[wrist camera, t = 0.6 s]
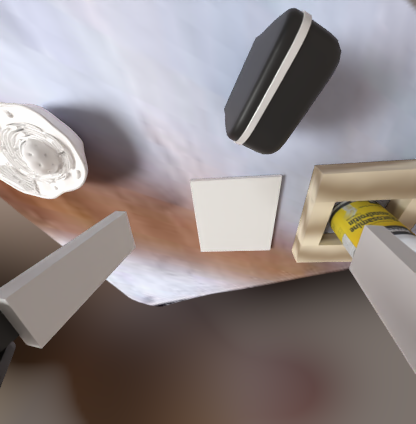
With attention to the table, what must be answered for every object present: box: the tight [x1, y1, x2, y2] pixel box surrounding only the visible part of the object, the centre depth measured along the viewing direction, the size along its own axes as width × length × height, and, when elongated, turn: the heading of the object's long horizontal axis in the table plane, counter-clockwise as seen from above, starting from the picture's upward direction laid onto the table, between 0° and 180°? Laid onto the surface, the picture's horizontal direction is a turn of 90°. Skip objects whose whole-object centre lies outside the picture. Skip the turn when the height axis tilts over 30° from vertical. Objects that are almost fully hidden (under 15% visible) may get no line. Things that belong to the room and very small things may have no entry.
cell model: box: [0, 103, 88, 199], centre depth 21 cm, size 10×12×7 cm
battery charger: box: [224, 8, 341, 154], centre depth 14 cm, size 7×4×11 cm, turn 156°
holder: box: [292, 159, 416, 262], centre depth 27 cm, size 16×14×2 cm
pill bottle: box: [329, 200, 416, 259], centre depth 23 cm, size 6×6×12 cm
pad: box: [190, 174, 282, 252], centre depth 29 cm, size 14×12×1 cm
